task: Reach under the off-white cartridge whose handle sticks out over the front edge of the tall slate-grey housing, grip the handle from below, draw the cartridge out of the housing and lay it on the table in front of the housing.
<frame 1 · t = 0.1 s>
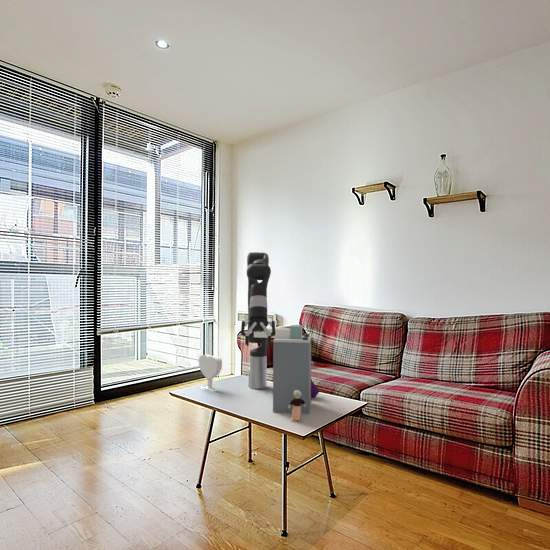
hand: (258, 345, 167), 31 cm above the table, tool tilted 20°, fingers open, 8 cm apart
perfume bottle: (309, 397, 204), on the table
housing: (292, 407, 187), on the table
heart sculpture: (209, 389, 218), on the table
grandmother figurine: (297, 421, 170), on the table
cartridge: (275, 337, 189), point 32 cm above the table, touching housing
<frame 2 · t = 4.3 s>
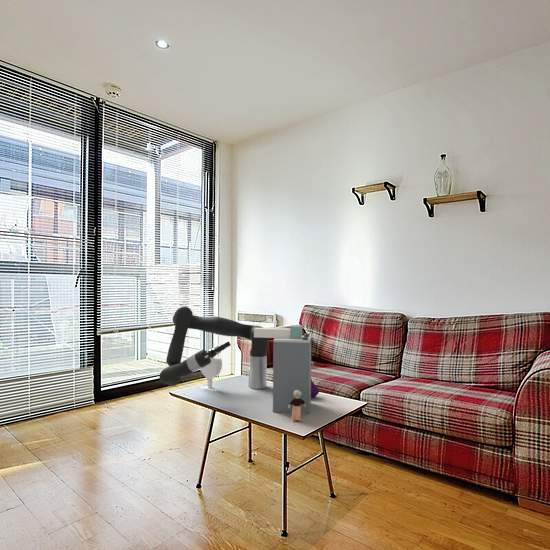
hand: (227, 344, 192), 28 cm above the table, tool pointing upward, fingers open, 8 cm apart
nothing on the table moved.
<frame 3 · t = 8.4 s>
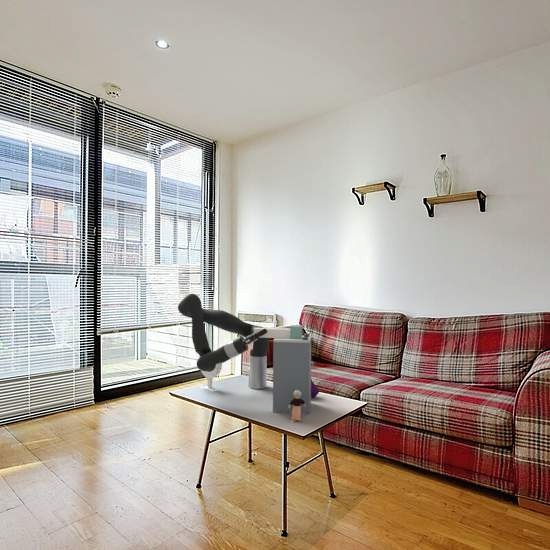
hand: (267, 329, 190), 35 cm above the table, tool pointing upward, fingers closed on cartridge, 4 cm apart
cartridge: (275, 337, 189), point 32 cm above the table, touching gripper, housing
everything else where it was.
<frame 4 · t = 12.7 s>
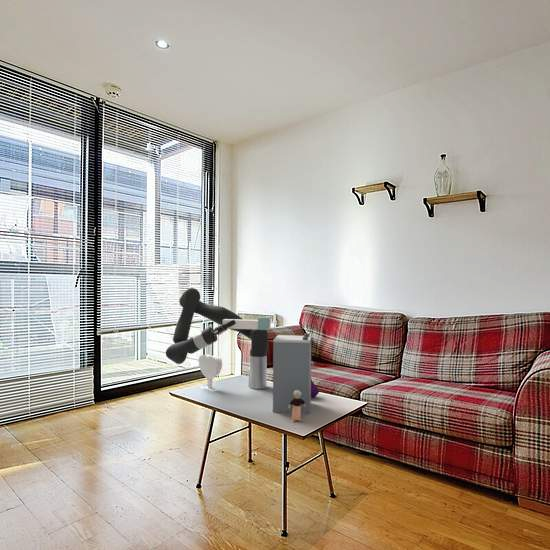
hand: (235, 321, 192), 39 cm above the table, tool pointing upward, fingers closed on cartridge, 4 cm apart
cartridge: (244, 328, 191), point 36 cm above the table, touching gripper
everything else where it was.
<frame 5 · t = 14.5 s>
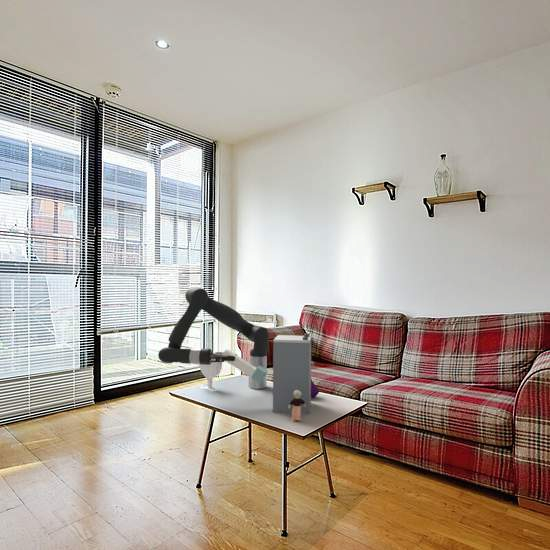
hand: (235, 357, 191), 22 cm above the table, tool horizontal, fingers closed on cartridge, 4 cm apart
cartridge: (239, 368, 191), point 17 cm above the table, tilted 30°, touching gripper
everything else where it was.
when the fingers open (12 cm above the table, at t = 17.3 s): cartridge drops 7 cm, on the table.
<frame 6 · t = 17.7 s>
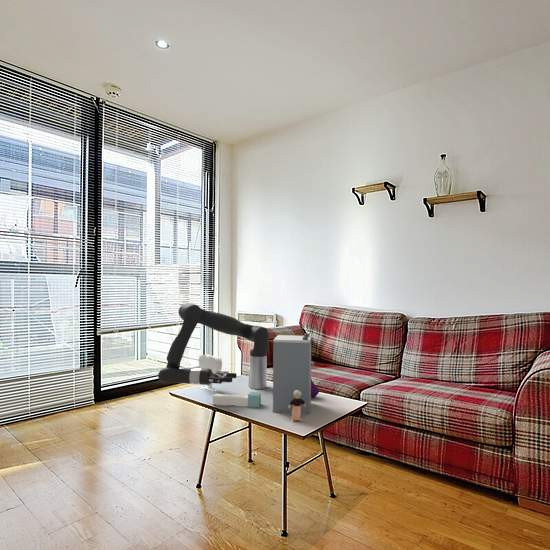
hand: (234, 377, 191), 13 cm above the table, tool horizontal, fingers open, 8 cm apart
cartridge: (234, 404, 191), on the table
everything else where it was.
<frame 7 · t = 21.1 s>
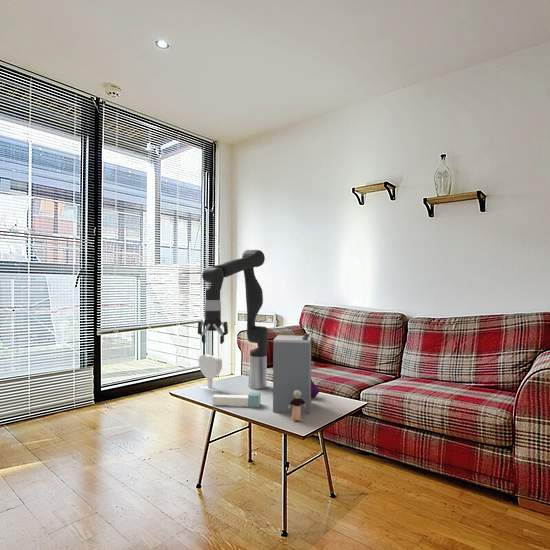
hand: (212, 343, 194), 28 cm above the table, tool pointing down, fingers open, 8 cm apart
nothing on the table moved.
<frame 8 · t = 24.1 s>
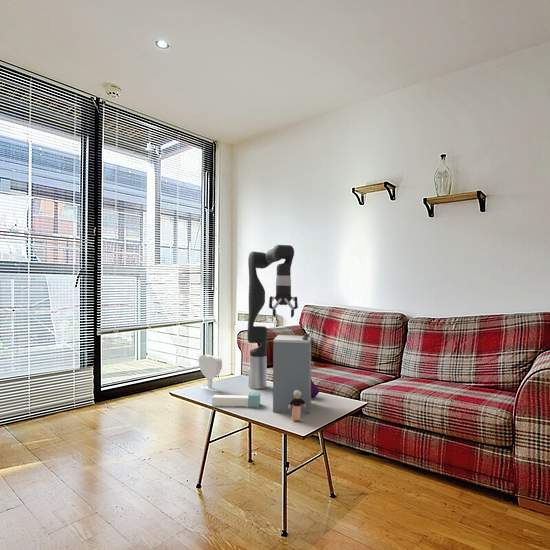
hand: (283, 317, 203), 40 cm above the table, tool pointing down, fingers open, 8 cm apart
nothing on the table moved.
at the end: cartridge inside the target area (4.0 cm from its centre), on the table; cartridge touching table; the gripper is holding nothing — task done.
